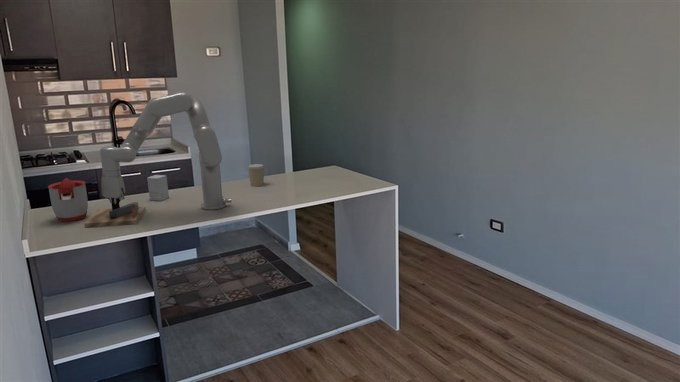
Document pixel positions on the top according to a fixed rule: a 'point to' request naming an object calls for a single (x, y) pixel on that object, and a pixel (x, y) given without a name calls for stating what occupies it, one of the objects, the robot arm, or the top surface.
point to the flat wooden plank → (104, 219)
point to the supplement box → (158, 187)
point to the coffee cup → (256, 175)
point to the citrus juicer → (69, 200)
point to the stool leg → (123, 210)
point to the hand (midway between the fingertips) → (116, 210)
